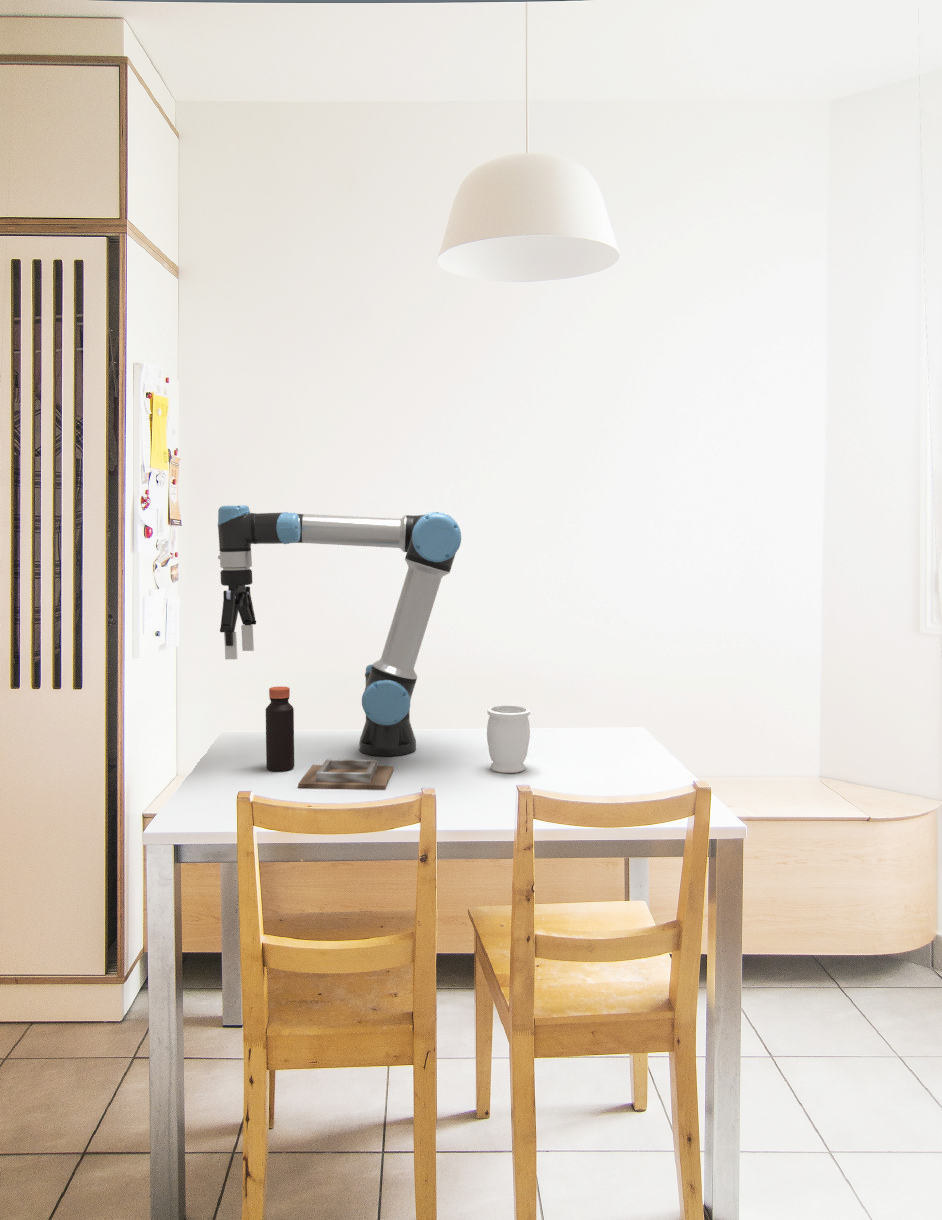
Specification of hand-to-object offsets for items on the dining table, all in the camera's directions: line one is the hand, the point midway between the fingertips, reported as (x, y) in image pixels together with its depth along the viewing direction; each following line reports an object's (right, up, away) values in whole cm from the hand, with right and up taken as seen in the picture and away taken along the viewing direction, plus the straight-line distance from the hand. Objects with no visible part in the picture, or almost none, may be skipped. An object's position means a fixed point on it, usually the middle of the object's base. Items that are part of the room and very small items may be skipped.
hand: (240, 654), depth 228 cm
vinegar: (+10, -28, -1) cm, 30 cm away
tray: (+28, -29, -9) cm, 41 cm away
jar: (+66, -28, 0) cm, 72 cm away
